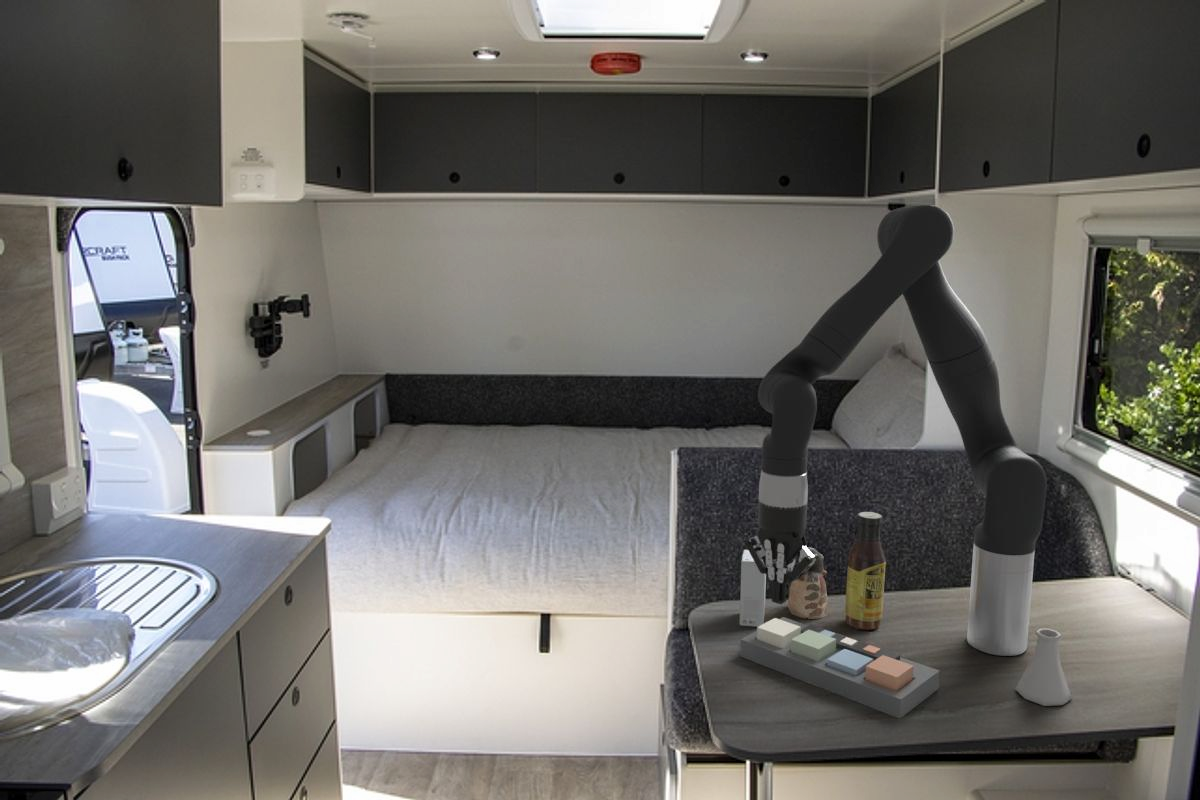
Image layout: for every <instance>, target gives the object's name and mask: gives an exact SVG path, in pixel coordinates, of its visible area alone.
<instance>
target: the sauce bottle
mask: <svg viewBox="0 0 1200 800" xmlns="http://www.w3.org/2000/svg"><path fill="white" fill-rule="evenodd" d="M857 523H858V524H857V535H856V541H855V542H854V543H853V544H852V546H851V547H850V550H849V555H848V565H847V575H846V577H847V578H846V589H845V590H846V592H845V594H846V595H845V605H844V606H845V608H844V609H845V610H844V613H845V622H846V624H847V626H848V627H849V626H850V627H852V628H855V629H858V630H863V631H864V630H867V631H869V630H875V629H878V628H879V627H880V625H881V622H882V619H883V608H884V607H883V606H884V594H885V593H884V592H885V576H886V566H887V565H886V564H887V562H886V559H885V557H886V556H885V554H884V550H883V548H882V543H881V535H880V534H881V525H882V524H883V516H882V515H881V514H880V513H877V512H873V511H862V512H859V513H858V514H857Z"/></svg>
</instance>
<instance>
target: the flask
mask: <svg viewBox="0 0 1200 800" xmlns="http://www.w3.org/2000/svg"><path fill="white" fill-rule="evenodd" d="M1035 635H1036V637H1037V641H1036V646H1035V650H1034V652H1033V656H1032V657H1031V659H1030V661H1029V663H1028V664H1027V667H1026V669H1025V671H1024V672H1023V674H1022V676H1021V678H1020V680H1019V681H1018V683H1017V685H1016V687H1015V689H1014V690H1015V691H1016V692H1018V694H1020V695H1021V696H1022V697H1023V699H1025V700H1028V701H1030V702H1033V703H1036V704H1039V705H1040V706H1044V707H1047V706H1048V707H1050V706H1052V707H1053V706H1064V705H1065V704H1066V703H1068V702H1069V701H1070V700H1072V695H1071V692H1070V689H1069V685H1068V684H1067V680H1066V676H1065V673H1064V671H1063V668H1062V667H1063V666H1062V664H1061V661H1060V653H1059V640H1060V639H1061V638H1062V635H1061V634H1060V632H1058V631H1057V630H1054V629H1051V628H1047V627H1046V628H1039V629H1037V630H1036V631H1035Z"/></svg>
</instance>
